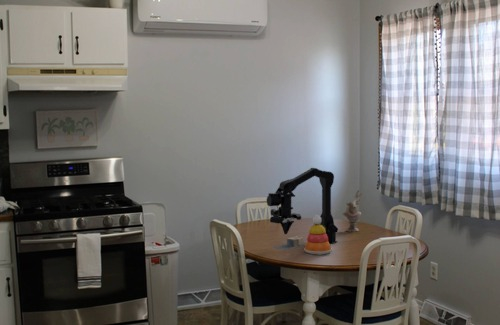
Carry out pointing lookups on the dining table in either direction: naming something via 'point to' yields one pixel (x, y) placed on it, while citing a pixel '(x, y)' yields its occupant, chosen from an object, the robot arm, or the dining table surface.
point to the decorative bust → (352, 213)
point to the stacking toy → (317, 238)
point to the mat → (287, 246)
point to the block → (295, 241)
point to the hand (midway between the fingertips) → (285, 234)
